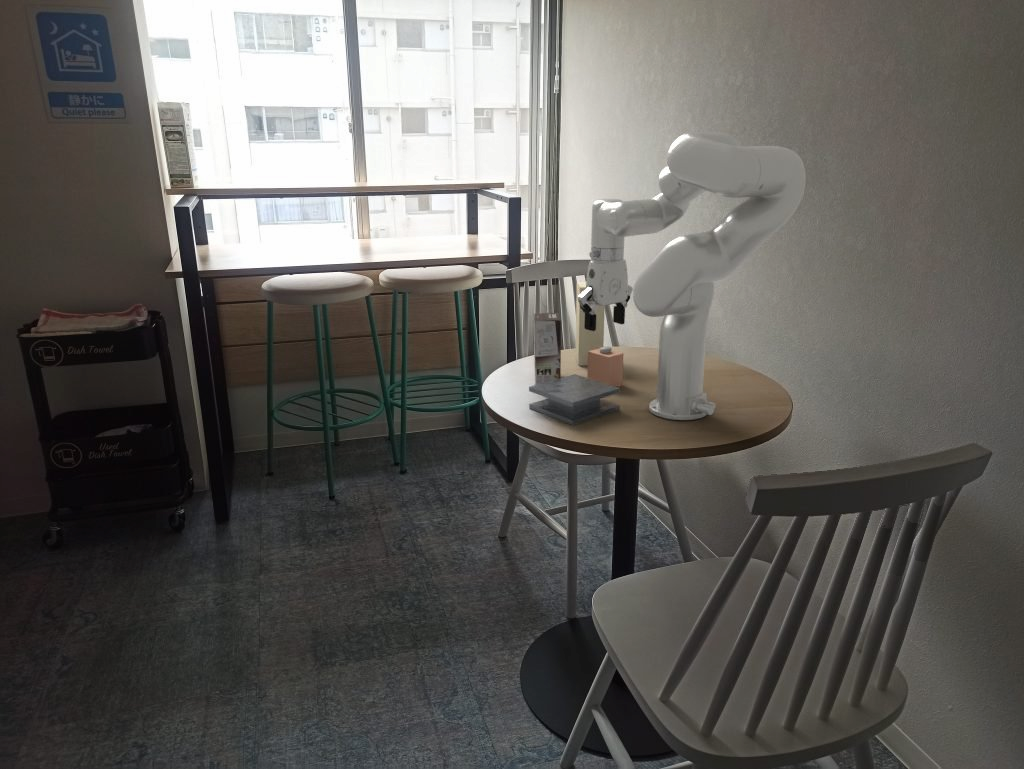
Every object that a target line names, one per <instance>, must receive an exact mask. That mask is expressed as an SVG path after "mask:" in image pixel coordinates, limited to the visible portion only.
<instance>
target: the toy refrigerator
mask: <svg viewBox="0 0 1024 769" xmlns="http://www.w3.org/2000/svg"><path fill="white" fill-rule="evenodd" d="M585 290H586V281H577V282H576V297H575V298H576V299H575V300H576V303H575V304H576V305H575V306H576V307H575V308H576V310H575V314H576V315H575V359H576V360H575V361H576V362H577V366H580V367H581V366H582V367H583V366H585V367H588V351H591V350H595V349H599V348H601V347H604V343H605V342H604V340H605V338H604V336H605V307H606V306H600V305H599V306H598V308H597V309H596V311H595V313H594V314H596V330H595V331H590V330H587V329H585V328H584V326H585V313H583V310H582V309H581V308H580V304H579V302H578V299H577V298H578V296H579V295H580V294H581V293H582V292H584V291H585ZM586 303H587V301H586ZM592 306H593V305H591V306H590V308H592Z"/></svg>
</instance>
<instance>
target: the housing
mask: <svg viewBox="0 0 1024 769" xmlns="http://www.w3.org/2000/svg"><path fill="white" fill-rule="evenodd" d="M623 377H624V352H620V351H615V350H612V347H610V346H603V347H601V348H599V349H595V350H591V351H588V365H587V377H586V378H589V379H592V380H596V381H599V382H602V383H605V384H608V385H611V386H615V387H616V386H618V387H620V386H619V385H621V386H623V385H622V384H624V383H623V382H624V379H623Z"/></svg>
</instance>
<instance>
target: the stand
mask: <svg viewBox="0 0 1024 769" xmlns="http://www.w3.org/2000/svg"><path fill="white" fill-rule="evenodd" d="M528 389H529V390H528V392H530V393H533V394H536V395H538V396H541V397H543V398H544V397H545V399H542V400H539V401H538V400H537V401H536V402H535V401H534V402H532V403H528V405H529V406H528V408H529V409H530V408H531V409H530V410H532V409H533V410H532V411H535V412H538V413H541V414H543V415H546V416H548V417H551V418H554V419H556V420H558V421H560V422H564V423H566V424H568V425H571V426H575V425H578V423H579V424H581V423H584V422H587V421H590V420H593V419H597V418H599V417H602V416H606V415H609V414H611V413H615V412H617V411H620V405H619V404H616V403H613V402H610V401H608V400H604V399H605V398H606V397H611V396H614V395H616V394H620V392H621V388H620V387H619V386H618V387H615V386H611V385H608V384H605V383H602V382H599V381H596V380H592V379H589V378H587V377H585V376H583V375H579V374H577V373H574V374H570V375H566V376H563V377H560V378H559V379H556V380H552V381H548V382H545V383H541V384H538V385H536V384H534V385H531V386H529V387H528Z"/></svg>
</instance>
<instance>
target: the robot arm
mask: <svg viewBox="0 0 1024 769" xmlns="http://www.w3.org/2000/svg"><path fill="white" fill-rule="evenodd" d="M806 178H807V176H806V169H805V166H804V161H803V160H802V158H801V157H800V155H799V154H798V153H796V152H795V151H794V150H792V149H790V148H787V147H783V146H778V145H754V146H752V145H751V146H749V145H747V146H741V145H740V143H739V141H738V140H737V139H736V138H735V137H734V136H733V135H730V134H729V133H726V132H721V131H720V132H719V131H705V132H704V131H694V132H693V131H692V132H686V133H683V134H681V135H680V136H678V137H677V138H675V140H674V141H673V142H672V144H671V145H670V147H669V149H668V152H667V155H666V166H665V167H664V168H662V170H661V171H660V173H659V175H658V188H659V190H660V192H661V193H659V194H657V195H656V196H654V197H652V198H651V199H650V198H649V199H633V200H622V199H617V198H601V199H596V200H595V201H594V202H593V204H592V208H591V235H590V236H591V238H590V240H591V242H590V245H591V246H590V252H589V253H588V255H589V257H590V261H588V263H589V264H588V267H587V273H586V281H585V282H586V290H585V291H584V292H582V293H581V294H580V295H579V296H578V298H577V297H576V298H577V299H578V302H579V304H580V308H581V309H582V310H583V313H585V326H584V328H585V329H587V330H590V331H595V330H596V314H594V313H595V311H596V309H597V308H598V306H599V305H600V306H605V307H606V306H610V305H614V306H613V313H612V314H613V315H612V319H613V320H612V322H613V323H615V324H618V325H625V322H626V320H625V318H626V316H625V315H626V308H627V307H628V302H629V301H630V299H631V295H632V299H633V303H634V305H635V308H636V310H638V311H639V312H640V313H641V314H643V315H645V316H647V317H650V318H659V317H663V319H662V322H661V325H660V329H659V340H658V341H659V342H658V361H657V362H658V363H657V386H656V387H657V388H656V398H655V399H653V400H651V401H650V402H649V405H648V410H649V411H650V412H651V413H652V414H653V415H655V416H657V417H659V418H662V419H667V420H676V421H694V420H698V419H702V418H705V417H706V416H707V415H709V416H712V415H713V414H714V412H715V409H716V403H715V402H711V401H708V400H707V393H706V392H703V386H704V374H705V372H704V370H705V357H706V345H707V344H706V342H707V331H708V330H707V329H708V321H709V320H708V319H709V315H710V311H711V310H710V309H711V308H712V304H713V299H714V294H715V282H718V281H721V280H724V279H726V278H729V276H731V275H732V274H734V273H735V271H736V270H738V269H739V267H740V266H741V265H743V264H744V263H745V262H746V261H747V260H748V259H749V258H750V257H751V256H752V255H753V254H754V253H755V252H757V250H758V249H760V247H761V246H763V244H764V243H766V241H768V240H769V239H770V238H771V236H773V235H774V234H775V233H776V232H777V231H779V229H781V228H782V227H783V226H784V225H785V224H786V222H788V221H789V219H790V218H791V217H792V216H793V215H794V213H795V212H796V210H797V208H798V207H799V205H800V203H801V201H802V199H803V196H804V193H805V187H806ZM705 191H707V192H710V193H712V194H715V195H717V196H721V197H726V198H737V199H738V198H746V199H745V200H744V201H742V202H741V203H739V204H737V206H735V207H733V208H732V209H731V210H730V211H729V212H728V213H727V214H726V215H725V216H724V218H723V219H722V220H721V221H720V222H719V223H718V224H717V225H715V226H714V227H713V228H711V229H709V230H708V231H701V232H698V233H689V234H684V235H680V236H678V237H676V238H674V239H673V240H671V241H670V242H668V243H667V244H666V245H665V246H664V247H663V248H662V249H661V250H660V251H659V253H658V254H657V255H656V256H655V257H654V258H653V259H652V261H651V262H649V264H648V265H647V266H646V267H645V268H644V269H643V270H642V272H641V273H640V274H639V275H638V277H637V279H636V281H635V283H634V285H633V286H634V287H632V286H630V285H629V279H628V278H629V277H628V276H629V275H628V266H627V261H626V259H625V258H624V254H625V237H626V238H627V237H633V236H641V235H653V234H657V233H659V232H661V231H662V232H663V230H665V229H667V228H669V227H670V226H671V225H673V224H674V223H676V222H677V221H679V220H680V219H682V218H683V217H684V216H685V214H686V212H687V210H688V208H689V206H690V203H691V202H692V201H693V200H695V199H696V198H698V197H699V196H700V195H702V194H703V193H705ZM586 301H587V303H586ZM591 305H593V306H592V308H590V306H591Z"/></svg>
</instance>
